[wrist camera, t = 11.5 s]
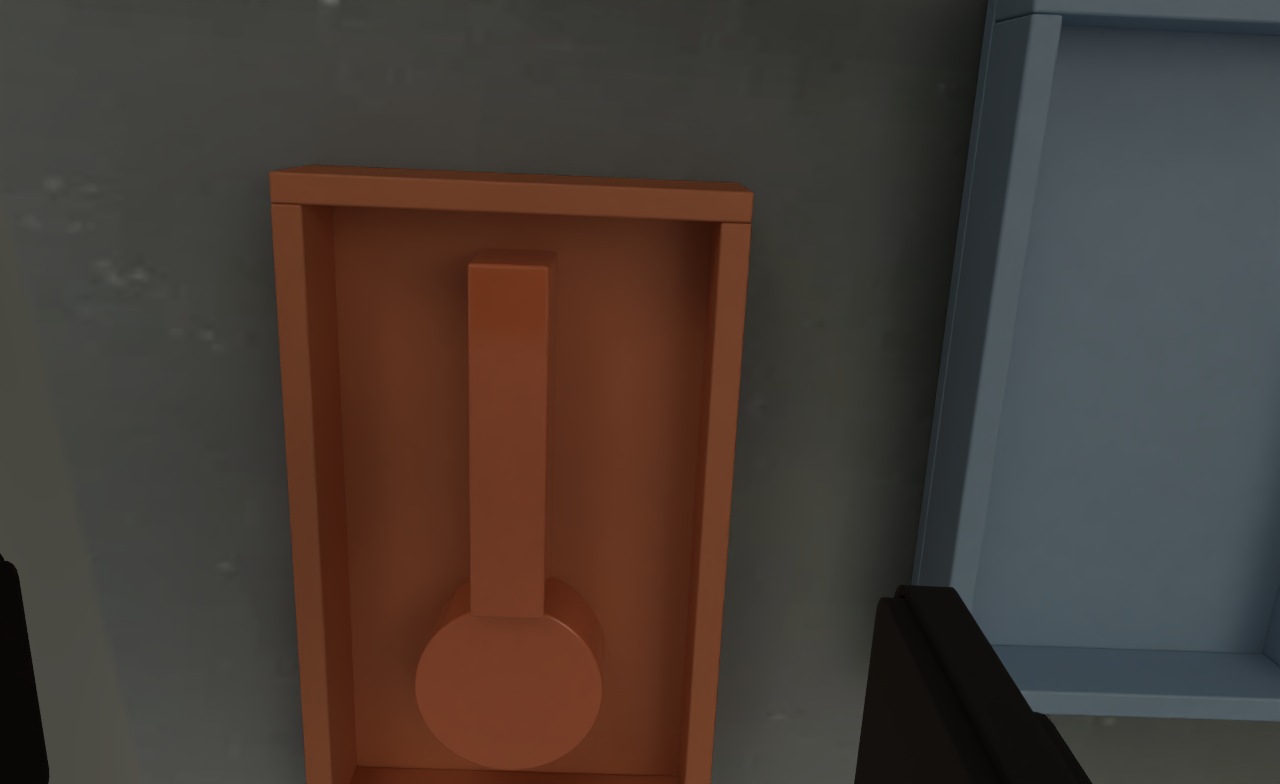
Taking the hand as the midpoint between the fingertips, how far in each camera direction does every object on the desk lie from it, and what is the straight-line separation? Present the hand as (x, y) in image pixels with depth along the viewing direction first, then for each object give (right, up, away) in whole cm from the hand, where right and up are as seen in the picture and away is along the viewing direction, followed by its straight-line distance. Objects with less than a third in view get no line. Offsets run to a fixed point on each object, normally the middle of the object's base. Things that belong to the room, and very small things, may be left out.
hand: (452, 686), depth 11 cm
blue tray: (+13, +4, +11) cm, 18 cm away
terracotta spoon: (-1, +1, +12) cm, 12 cm away
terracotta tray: (-1, +1, +12) cm, 12 cm away
